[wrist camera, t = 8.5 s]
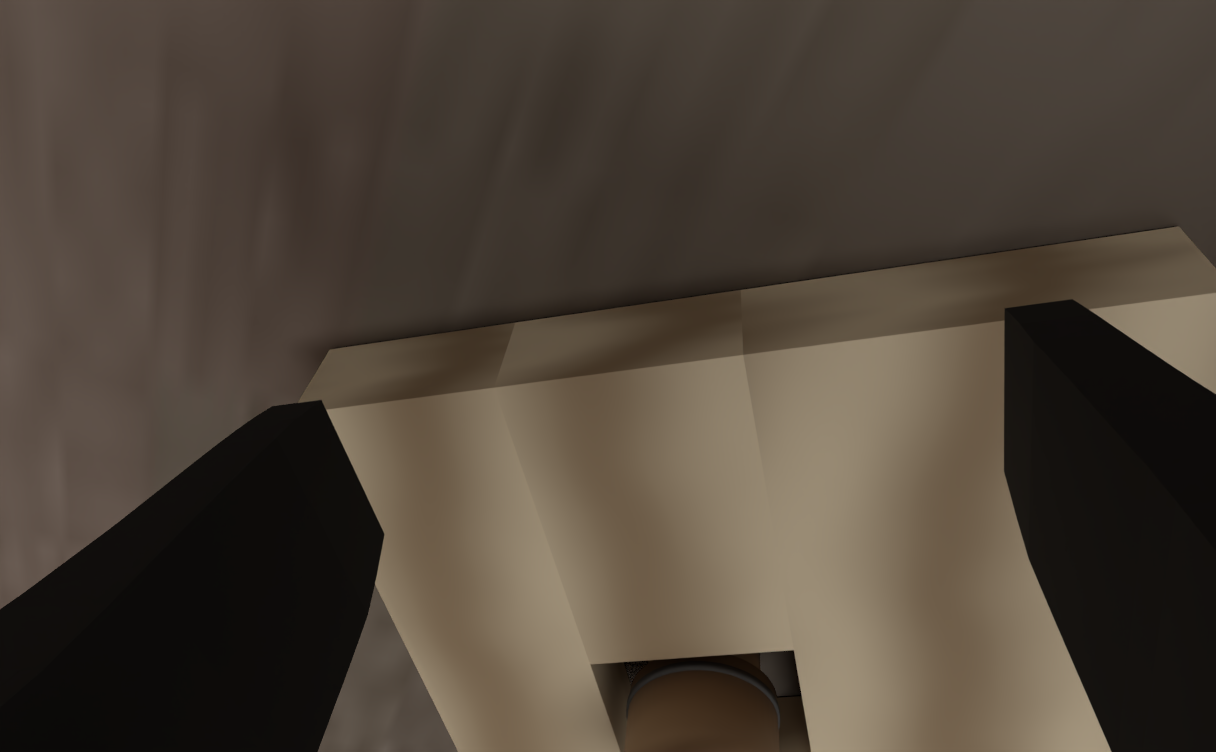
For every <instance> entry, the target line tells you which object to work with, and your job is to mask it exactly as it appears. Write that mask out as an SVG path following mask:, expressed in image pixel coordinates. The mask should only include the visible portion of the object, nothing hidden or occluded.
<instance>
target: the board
mask: <svg viewBox="0 0 1216 752" xmlns="http://www.w3.org/2000/svg"><path fill="white" fill-rule="evenodd" d="M1069 299H1073V300H1075V301H1076V302H1078V303H1079V304H1081V305H1083V306H1084V307H1086V308H1087V309H1089V310H1090V311H1092V312H1093V313H1095V314H1096V315H1098V316H1099V317H1101V318H1102V319H1104V320H1105V321H1107V322H1108V323H1109V324H1111V325H1112V326H1114V327H1115V328H1117V329H1118V330H1120V331H1121V332H1123V333H1124V334H1126V335H1127V336H1128V337H1130V338H1131V339H1133V340H1134V341H1136V342H1137V343H1139V344H1140V345H1142V346H1143V347H1145V348H1146V349H1148V350H1149V351H1151V352H1152V353H1154V354H1155V355H1157V356H1158V357H1160V358H1161V359H1162V360H1164V361H1165V362H1167V363H1168V364H1170V365H1171V366H1173V367H1174V368H1176V369H1178V370H1179V371H1181V372H1182V373H1184V374H1185V375H1187V376H1188V377H1190V378H1191V379H1193V380H1194V381H1196V382H1197V383H1199V384H1201V385H1202V386H1204V387H1205V388H1207V389H1208V390H1210V391H1212V392H1213V393H1215V394H1216V268H1215V267H1214V266H1213V265H1212V264H1211V262H1210V261H1209V260H1208V259H1207V258H1206V257H1205V256H1204V254H1203V253H1202V252H1201V251H1200V250H1199V249H1198V248H1197V247H1196V245H1195V244H1194V243H1193V242H1192V241H1191V240H1190V239H1189V237H1188V236H1187V235H1186V234H1185V233H1184V232H1183V231H1182V230H1181V228H1180V227H1179V226H1178V227H1171V228H1164V229H1158V230H1151V231H1144V232H1137V233H1130V234H1123V235H1116V236H1109V237H1102V238H1095V239H1089V240H1082V241H1075V242H1068V243H1061V244H1054V245H1047V246H1040V247H1033V248H1026V249H1020V250H1013V251H1006V252H999V253H992V254H985V255H978V256H971V257H964V258H957V259H951V260H944V261H937V262H930V263H923V264H916V265H909V266H902V267H895V268H888V269H882V270H875V271H868V272H861V273H854V274H847V275H840V276H833V277H826V278H819V279H813V280H806V281H799V282H792V283H785V284H778V285H771V286H764V287H757V288H751V289H744V290H737V291H730V292H723V293H716V294H709V295H702V296H695V297H688V298H682V299H675V300H668V301H661V302H654V303H647V304H640V305H633V306H626V307H619V308H613V309H606V310H599V311H592V312H585V313H578V314H571V315H564V316H557V317H550V318H544V319H537V320H530V321H523V322H516V323H509V324H502V325H495V326H488V327H481V328H475V329H468V330H461V331H454V332H447V333H440V334H433V335H426V336H419V337H412V338H406V339H399V340H392V341H385V342H378V343H371V344H364V345H357V346H350V347H343V348H337V349H330V350H329V352H328V353H327V355H326V357H325V358H324V360H323V362H322V363H321V365H320V366H319V368H318V370H317V371H316V373H315V375H314V376H313V378H312V380H311V381H310V383H309V385H308V386H307V388H306V390H305V391H304V393H303V395H302V396H301V398H300V400H299V401H298V403H301V402H309V401H316V400H322V402H323V404H324V406H325V409H326V411H327V413H328V415H329V417H330V419H331V421H332V423H333V426H334V428H335V430H336V432H337V434H338V436H339V438H340V440H341V443H342V445H343V447H344V449H345V451H346V453H347V455H348V457H349V460H350V462H351V464H352V466H353V468H354V470H355V472H356V474H357V477H358V479H359V481H360V483H361V485H362V487H363V489H364V491H365V494H366V496H367V498H368V500H369V502H370V504H371V506H372V508H373V511H374V513H375V515H376V517H377V519H378V521H379V523H380V525H381V528H382V530H383V532H384V534H385V535H384V540H383V546H382V551H381V556H380V561H379V566H378V572H377V577H376V581H375V585H376V587H377V589H378V591H379V593H380V595H381V597H382V599H383V601H384V603H385V605H386V607H387V609H388V611H389V613H390V615H391V617H392V619H393V621H394V623H395V625H396V627H397V629H398V631H399V633H400V635H401V638H402V640H403V642H404V644H405V646H406V648H407V650H408V652H409V654H410V656H411V658H412V660H413V662H414V664H415V666H416V668H417V670H418V672H419V674H420V676H421V678H422V680H423V682H424V684H425V686H426V688H427V690H428V692H429V694H430V696H431V698H432V700H433V702H434V704H435V706H436V708H437V710H438V712H439V714H440V716H441V718H442V720H443V722H444V724H445V726H446V728H447V730H448V732H449V734H450V736H451V738H452V740H453V742H454V744H455V746H456V748H457V750H458V752H624V748H625V738H626V728H627V718H626V708H627V700H628V696H629V694H630V689H631V684H630V681H629V678H628V675H627V671H626V668H625V665H624V662H632V661H646V660H661V659H675V658H689V657H703V656H718V655H732V654H746V653H761V652H775V651H789V650H794V654H795V660H796V665H797V671H798V677H799V683H800V689H801V695H802V696H796V697H779V698H777V702H778V705H779V711H780V727H779V749H780V752H1111V750H1110V747H1109V745H1108V743H1107V740H1106V738H1105V736H1104V733H1103V731H1102V729H1101V726H1100V724H1099V722H1098V719H1097V717H1096V715H1095V713H1094V710H1093V708H1092V706H1091V703H1090V701H1089V699H1088V696H1087V694H1086V692H1085V689H1084V687H1083V685H1082V683H1081V680H1080V678H1079V676H1078V673H1077V671H1076V669H1075V666H1074V664H1073V662H1072V659H1071V657H1070V655H1069V653H1068V650H1067V648H1066V646H1065V643H1064V641H1063V639H1062V636H1061V634H1060V632H1059V629H1058V627H1057V625H1056V622H1055V620H1054V618H1053V615H1052V613H1051V611H1050V608H1049V606H1048V604H1047V601H1046V599H1045V597H1044V594H1043V592H1042V590H1041V587H1040V585H1039V583H1038V580H1037V578H1036V575H1035V573H1034V571H1033V568H1032V566H1031V563H1030V561H1029V559H1028V555H1027V552H1026V548H1025V545H1024V541H1023V538H1022V535H1021V531H1020V528H1019V524H1018V521H1017V517H1016V514H1015V510H1014V506H1013V503H1012V499H1011V495H1010V492H1009V488H1008V484H1007V481H1006V477H1005V473H1004V316H1005V308H1010V307H1017V306H1025V305H1032V304H1039V303H1047V302H1054V301H1062V300H1069Z"/></svg>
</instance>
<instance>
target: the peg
mask: <svg viewBox="0 0 1216 752" xmlns="http://www.w3.org/2000/svg"><path fill="white" fill-rule="evenodd" d="M626 718H627V728H626V738H625V748H624V752H780V749H779V727H780V711H779V705H778V702H777V695H776V691H775V688H774V686H773V684H772V683H771V681H770V680H769V678H768V677H767V676H766V675H765V674H764V673H763V672H762V671H761V670H760V653H746V654H732V655H718V656H703V657H689V658H675V659H661V660H648V664H647V665H646V666H644V667H643V668H642V669H641V670H640V671H639V672H638V673H637V675H636V676H635V678H634V680H633V682H632V684H631V689H630V694H629V696H628V700H627V708H626Z"/></svg>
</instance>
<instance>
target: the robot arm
mask: <svg viewBox="0 0 1216 752" xmlns="http://www.w3.org/2000/svg"><path fill="white" fill-rule="evenodd" d="M1004 473H1005V477H1006V481H1007V484H1008V488H1009V492H1010V495H1011V499H1012V503H1013V506H1014V510H1015V514H1016V517H1017V521H1018V524H1019V528H1020V531H1021V535H1022V538H1023V541H1024V545H1025V548H1026V552H1027V555H1028V559H1029V561H1030V563H1031V566H1032V568H1033V571H1034V573H1035V575H1036V578H1037V580H1038V583H1039V585H1040V587H1041V590H1042V592H1043V594H1044V597H1045V599H1046V601H1047V604H1048V606H1049V608H1050V611H1051V613H1052V615H1053V618H1054V620H1055V622H1056V625H1057V627H1058V629H1059V632H1060V634H1061V636H1062V639H1063V641H1064V643H1065V646H1066V648H1067V650H1068V653H1069V655H1070V657H1071V659H1072V662H1073V664H1074V666H1075V669H1076V671H1077V673H1078V676H1079V678H1080V680H1081V683H1082V685H1083V687H1084V689H1085V692H1086V694H1087V696H1088V699H1089V701H1090V703H1091V706H1092V708H1093V710H1094V713H1095V715H1096V717H1097V719H1098V722H1099V724H1100V726H1101V729H1102V731H1103V733H1104V736H1105V738H1106V740H1107V743H1108V745H1109V747H1110V750H1111V752H1216V394H1215V393H1213V392H1212V391H1210V390H1208V389H1207V388H1205V387H1204V386H1202V385H1201V384H1199V383H1197V382H1196V381H1194V380H1193V379H1191V378H1190V377H1188V376H1187V375H1185V374H1184V373H1182V372H1181V371H1179V370H1178V369H1176V368H1174V367H1173V366H1171V365H1170V364H1168V363H1167V362H1165V361H1164V360H1162V359H1161V358H1160V357H1158V356H1157V355H1155V354H1154V353H1152V352H1151V351H1149V350H1148V349H1146V348H1145V347H1143V346H1142V345H1140V344H1139V343H1137V342H1136V341H1134V340H1133V339H1131V338H1130V337H1128V336H1127V335H1126V334H1124V333H1123V332H1121V331H1120V330H1118V329H1117V328H1115V327H1114V326H1112V325H1111V324H1109V323H1108V322H1107V321H1105V320H1104V319H1102V318H1101V317H1099V316H1098V315H1096V314H1095V313H1093V312H1092V311H1090V310H1089V309H1087V308H1086V307H1084V306H1083V305H1081V304H1079V303H1078V302H1076V301H1075V300H1073V299H1069V300H1062V301H1054V302H1047V303H1039V304H1032V305H1025V306H1017V307H1010V308H1005V316H1004ZM384 535H385V534H384V532H383V530H382V528H381V525H380V523H379V521H378V519H377V517H376V515H375V513H374V511H373V508H372V506H371V504H370V502H369V500H368V498H367V496H366V494H365V491H364V489H363V487H362V485H361V483H360V481H359V479H358V477H357V474H356V472H355V470H354V468H353V466H352V464H351V462H350V460H349V457H348V455H347V453H346V451H345V449H344V447H343V445H342V443H341V440H340V438H339V436H338V434H337V432H336V430H335V428H334V426H333V423H332V421H331V419H330V417H329V415H328V413H327V411H326V409H325V406H324V404H323V402H322V400H316V401H309V402H301V403H294V404H287V405H279V406H272V407H270V408H269V409H267V410H266V411H264V412H262V413H261V414H259V415H258V416H256V417H255V418H253V419H252V420H250V421H249V422H247V423H246V424H244V425H243V426H242V427H240V428H239V429H237V430H236V431H235V432H233V433H232V434H231V435H229V436H228V437H227V438H225V439H224V440H223V441H221V442H220V443H219V444H217V445H216V446H215V447H213V448H212V449H211V450H210V451H208V452H207V453H206V454H204V455H203V456H202V457H201V458H199V459H198V460H197V461H196V462H194V463H193V464H192V465H190V466H189V467H188V468H187V469H185V470H184V471H183V472H182V473H180V474H179V475H178V476H177V477H175V478H174V479H173V480H171V481H170V482H169V483H168V484H166V485H165V486H164V487H163V488H161V489H160V490H159V491H157V492H156V493H155V494H154V495H152V496H151V497H150V498H149V499H147V500H146V501H145V502H144V503H142V504H141V505H140V506H138V507H137V508H136V509H135V510H133V511H132V512H131V513H130V514H128V515H127V516H126V517H125V518H123V519H122V520H121V521H119V522H118V523H117V524H116V525H114V526H113V527H112V528H110V529H109V530H108V531H106V532H105V533H104V534H102V535H101V536H100V537H98V538H97V539H96V540H94V541H93V542H92V543H90V544H89V545H88V546H86V547H85V548H84V549H82V550H81V551H80V552H78V553H77V554H76V555H74V556H73V557H72V558H70V559H69V560H67V561H66V562H65V563H63V564H62V565H61V566H59V567H58V568H57V569H55V570H54V571H53V572H51V573H50V574H49V575H47V576H46V577H45V578H43V579H42V580H41V581H39V582H38V583H37V584H35V585H34V586H33V587H31V588H30V589H28V590H27V591H26V592H24V593H23V594H22V595H20V596H19V597H17V598H16V599H14V600H13V601H12V602H10V603H9V604H7V605H6V606H4V607H3V608H2V609H0V752H317V751H318V749H319V746H320V743H321V741H322V738H323V735H324V733H325V730H326V727H327V725H328V722H329V719H330V717H331V714H332V711H333V709H334V706H335V703H336V701H337V698H338V695H339V693H340V690H341V687H342V685H343V682H344V680H345V677H346V674H347V671H348V668H349V666H350V663H351V660H352V657H353V655H354V652H355V649H356V646H357V644H358V641H359V638H360V635H361V633H362V630H363V627H364V624H365V621H366V618H367V615H368V611H369V607H370V603H371V598H372V594H373V590H374V586H375V581H376V577H377V572H378V566H379V561H380V556H381V551H382V546H383V540H384Z"/></svg>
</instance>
